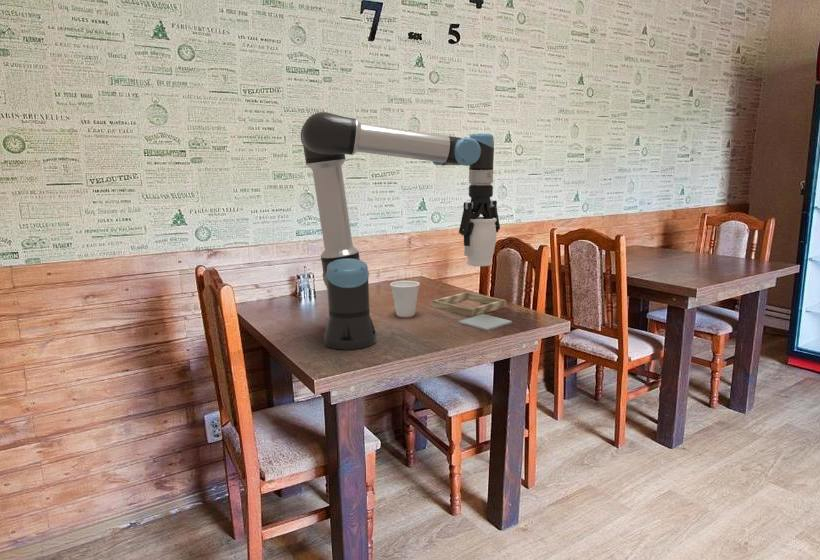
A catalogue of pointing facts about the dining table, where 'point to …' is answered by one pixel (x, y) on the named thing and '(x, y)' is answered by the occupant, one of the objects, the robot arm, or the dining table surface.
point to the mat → (485, 322)
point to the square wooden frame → (448, 306)
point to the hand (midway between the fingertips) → (479, 254)
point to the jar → (483, 241)
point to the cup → (405, 297)
